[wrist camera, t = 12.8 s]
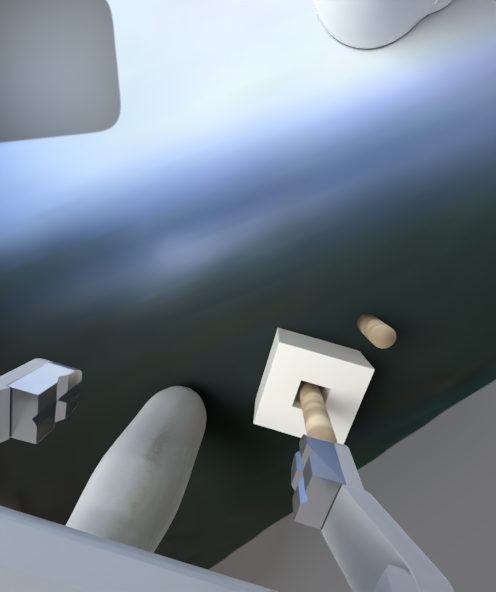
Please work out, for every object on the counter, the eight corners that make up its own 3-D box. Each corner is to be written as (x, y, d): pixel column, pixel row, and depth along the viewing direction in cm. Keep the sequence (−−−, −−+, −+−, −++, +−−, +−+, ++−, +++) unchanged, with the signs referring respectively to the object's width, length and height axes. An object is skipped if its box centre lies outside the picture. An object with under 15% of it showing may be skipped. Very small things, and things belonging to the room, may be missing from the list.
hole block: (277, 327, 40) (279, 342, 34) (359, 350, 39) (374, 369, 33) (255, 398, 42) (253, 423, 37) (331, 421, 42) (341, 449, 36)
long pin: (299, 364, 41) (313, 426, 27) (317, 370, 40) (341, 434, 27) (293, 381, 41) (304, 449, 28) (311, 386, 41) (331, 457, 27)
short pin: (360, 311, 38) (376, 323, 32) (380, 316, 38) (400, 330, 32) (353, 329, 39) (368, 344, 33) (372, 334, 39) (390, 351, 33)
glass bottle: (207, 433, 45) (108, 733, 17) (151, 418, 45) (-32, 689, 18) (218, 383, 42) (124, 637, 15) (159, 369, 43) (-35, 590, 16)
